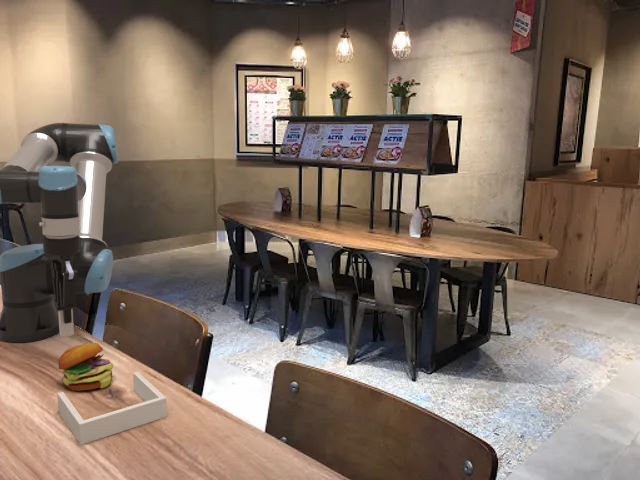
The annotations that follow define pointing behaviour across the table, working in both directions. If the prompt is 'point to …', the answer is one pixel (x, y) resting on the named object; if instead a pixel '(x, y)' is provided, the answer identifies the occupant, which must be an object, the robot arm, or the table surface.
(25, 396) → the table surface
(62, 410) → the box
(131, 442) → the table surface
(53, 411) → the table surface
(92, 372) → the cheeseburger
